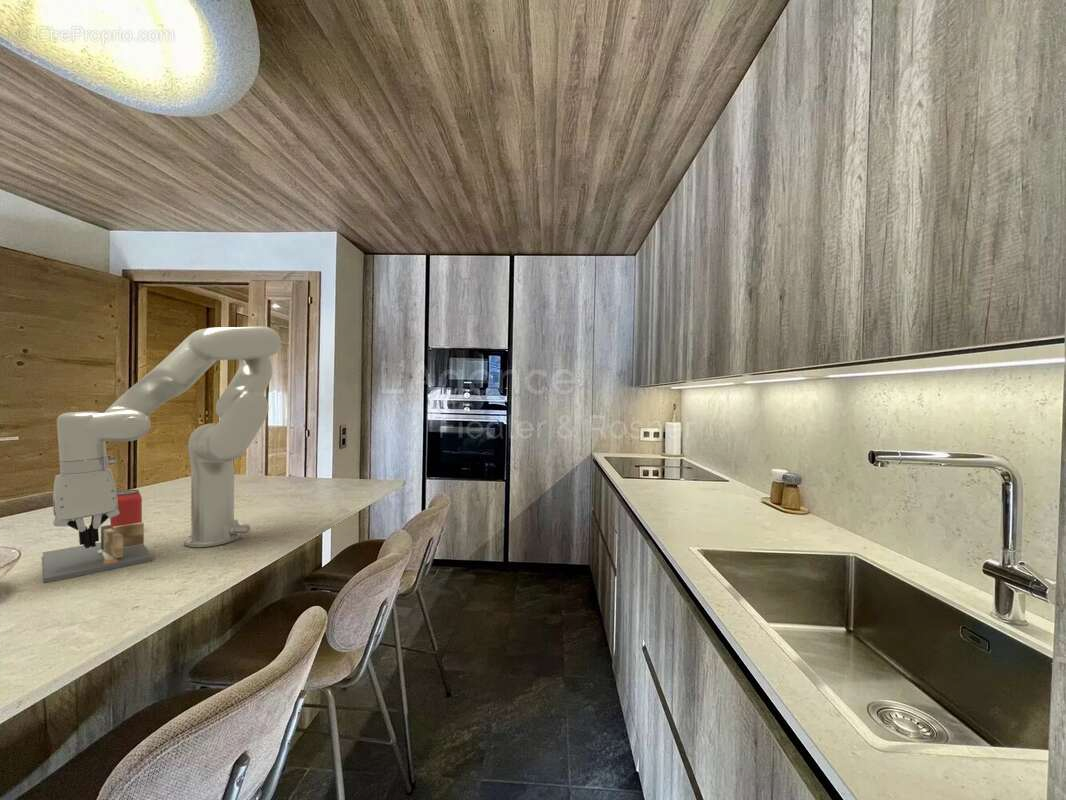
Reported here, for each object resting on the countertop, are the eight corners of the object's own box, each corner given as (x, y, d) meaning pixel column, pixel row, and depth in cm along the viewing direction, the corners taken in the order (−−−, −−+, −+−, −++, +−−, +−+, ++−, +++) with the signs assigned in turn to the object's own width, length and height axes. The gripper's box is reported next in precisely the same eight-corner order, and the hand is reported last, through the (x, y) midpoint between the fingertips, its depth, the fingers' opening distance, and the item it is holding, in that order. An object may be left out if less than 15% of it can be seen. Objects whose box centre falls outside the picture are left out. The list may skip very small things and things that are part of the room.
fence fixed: (143, 543, 117) (142, 522, 117) (143, 544, 116) (143, 522, 116) (113, 548, 113) (112, 526, 113) (113, 549, 112) (113, 527, 112)
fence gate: (100, 548, 111) (99, 526, 111) (109, 546, 113) (109, 524, 113) (114, 558, 105) (114, 535, 105) (124, 556, 106) (124, 533, 106)
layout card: (138, 539, 123) (138, 535, 123) (152, 560, 108) (151, 556, 108) (43, 556, 110) (42, 551, 110) (43, 583, 95) (43, 577, 95)
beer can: (127, 538, 124) (127, 494, 123) (103, 537, 124) (103, 494, 124) (148, 530, 130) (148, 489, 130) (125, 530, 130) (125, 488, 130)
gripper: (123, 459, 110) (128, 533, 111) (33, 470, 99) (39, 552, 100) (131, 462, 106) (136, 540, 107) (37, 474, 94) (43, 561, 95)
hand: (89, 546), depth 103 cm, fingers closed
